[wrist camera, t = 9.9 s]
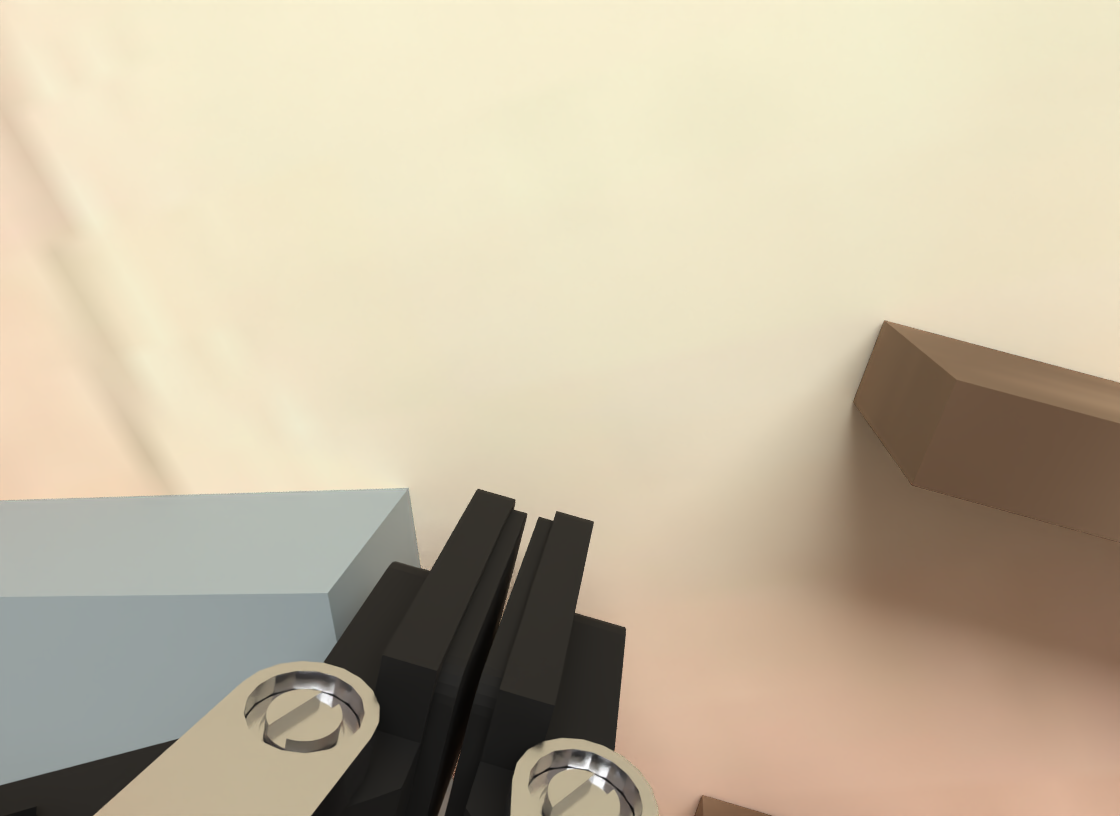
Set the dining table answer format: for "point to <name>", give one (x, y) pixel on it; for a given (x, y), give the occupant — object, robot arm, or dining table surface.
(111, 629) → the slate block
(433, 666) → the robot arm
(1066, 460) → the walnut chute
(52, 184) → the dining table surface
